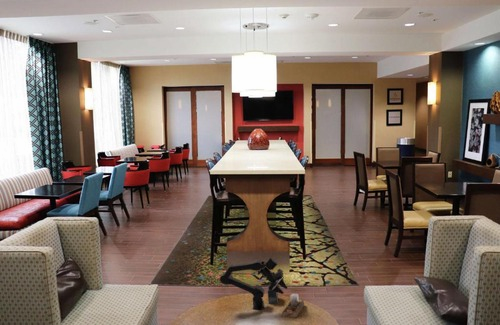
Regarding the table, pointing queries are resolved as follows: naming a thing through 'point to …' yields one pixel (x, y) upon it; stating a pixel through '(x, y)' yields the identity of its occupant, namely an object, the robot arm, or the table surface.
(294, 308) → the divided wooden tray
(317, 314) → the table surface
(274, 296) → the small box
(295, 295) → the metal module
